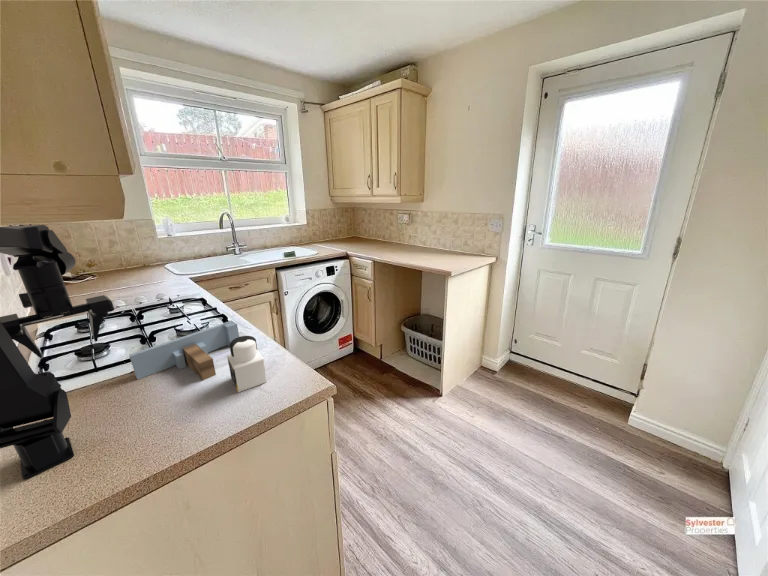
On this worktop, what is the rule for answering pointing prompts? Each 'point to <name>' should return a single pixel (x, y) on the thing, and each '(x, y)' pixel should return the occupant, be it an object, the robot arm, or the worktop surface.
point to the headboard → (172, 350)
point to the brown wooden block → (199, 361)
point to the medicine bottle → (246, 363)
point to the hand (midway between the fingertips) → (69, 348)
